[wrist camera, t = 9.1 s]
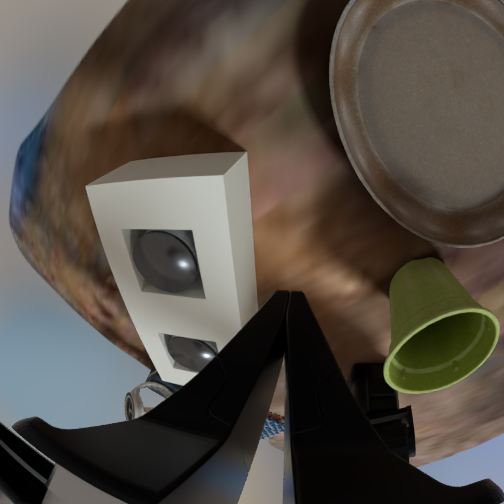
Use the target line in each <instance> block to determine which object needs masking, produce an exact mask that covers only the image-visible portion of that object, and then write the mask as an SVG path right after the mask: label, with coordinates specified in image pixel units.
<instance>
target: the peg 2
mask: <svg viewBox="0 0 504 504" xmlns="http://www.w3.org/2000/svg"><path fill="white" fill-rule="evenodd" d="M167 349H168V352H169V354H170V356H171V357H172V358H173V359H174V360H175V361H176V362H177V363H179V364H180V365H182V366H184V367H185V368H188V369H190V370H193V371H198V372H200V371H201V370H202V369H203V368H204V367H205V366H206V365H207V364H208V363H209V362H210V361H211V360H212V359H213V358H214V357H216V355H217V354H218V349H217V345H216V342H213V341H206V340H199V339H193V338H186V337H180V336H175V335H173V336H172V338H171V340H170V341H169V343H168V346H167Z"/></svg>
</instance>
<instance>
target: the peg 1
mask: <svg viewBox="0 0 504 504" xmlns="http://www.w3.org/2000/svg"><path fill="white" fill-rule="evenodd" d="M133 258H134V262H135V265H136V267H137V269H138V271H139V272H140V274H141V275H142V276H143V278H144V279H145V280H146V281H148V282H149V283H150V284H151V285H153V286H155V287H156V288H158V289H161V290H163V291H167V292H182V291H184V290H186V289H188V288H189V287H190V286H191V285H192V284H193V282H194V280H195V279H196V277H197V275H198V273H199V272H200V268H199V263H198V258H197V253H196V248H195V242H194V237H193V231H192V230H166V229H148V230H147V231H146V232H145V233H144V234H143V235H142V236H141V237H140V238H139V239H138V241H137V242H136V244H135V246H134V249H133Z"/></svg>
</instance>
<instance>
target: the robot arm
mask: <svg viewBox="0 0 504 504" xmlns="http://www.w3.org/2000/svg"><path fill="white" fill-rule="evenodd" d="M284 353H285V356H284ZM283 358H284V382H285V418H284V479H283V480H284V481H283V504H500V503H502V502H504V493H503V491H502V489H500V487H499V486H497V485H496V484H495V483H494V482H493V481H491V480H490V479H484V480H481V481H478V482H475V483H472V484H469V485H466V486H461V487H453V486H448V485H445V484H443V483H441V482H439V481H437V480H435V479H434V478H432V477H430V476H429V475H427V474H425V473H424V472H422V471H420V470H419V469H417V468H416V467H414V466H413V465H411V464H409V457H415V455H416V447H415V433H414V424H413V417H412V410H411V405H410V406H406V407H405V408H401V409H399V400H398V392H397V390H395V389H393V388H392V387H391V386H390V385H389V384H388V383H387V382H386V380H385V378H384V371H383V370H384V364H355V365H354V366H353V368H352V371H351V373H350V376H349V379H348V382H346V380H345V378H344V376H343V374H342V372H341V370H340V368H338V367H339V366H338V363H337V361H336V359H335V357H334V355H333V353H332V351H331V349H330V346H329V344H328V342H327V340H326V338H325V336H324V334H323V332H322V330H321V328H320V325H319V323H318V321H317V319H316V317H315V315H314V313H313V311H312V309H311V307H310V305H309V303H308V301H307V299H306V297H305V295H304V293H303V292H302V291H290V292H289V291H287V290H276V291H275V292H274V293H273V294H272V296H271V297H270V298H269V299H268V300H267V301H266V302H265V303H264V304H263V306H262V307H261V308H260V309H259V310H258V311H257V312H256V313H255V314H254V315H253V317H252V318H251V319H250V320H249V321H248V322H247V323H246V324H245V325H244V326H243V327H242V328H241V330H240V331H239V332H238V333H237V334H236V335H235V336H234V337H233V338H232V339H231V340H230V341H229V342H228V343H227V344H226V345H225V347H224V348H223V349H222V350H221V351H220V352H219V353H218V354H217V355H216V357H214V358H213V359H212V360H211V361H210V362H209V363H208V364H207V365H206V366H205V367H204V368H203V369H202V370H201V371H200V372H199V373H198V374H197V375H196V376H194V377H193V378H192V379H191V380H190V381H188V382H187V383H186V384H185V385H184V386H182V387H181V388H180V389H178V390H177V391H176V392H175V393H173V394H172V395H171V396H169V397H168V398H167V399H166V400H164V401H163V402H161V403H160V404H159V405H157V406H156V407H155V408H153V409H152V410H151V411H149V412H148V413H146V414H144V415H142V416H140V417H138V418H135V419H132V420H128V421H124V422H118V423H112V424H107V425H101V426H94V427H88V428H80V429H60V428H56V427H53V426H51V425H49V424H48V423H47V422H45V421H44V420H42V419H40V418H39V417H31V418H26V419H22V420H20V421H18V422H16V423H15V424H14V425H13V426H12V428H13V429H14V430H15V431H16V432H17V433H18V434H19V435H20V436H22V437H23V438H24V439H25V440H26V441H28V442H29V443H30V444H31V445H33V446H34V447H35V448H36V449H38V450H39V451H40V452H42V453H43V454H44V455H46V456H47V457H48V458H50V459H51V460H53V461H54V462H55V464H54V463H52V462H51V461H49V460H48V459H47V458H45V457H44V456H43V455H41V454H40V453H39V452H37V451H36V450H35V449H34V448H32V447H31V446H30V445H28V444H27V443H26V442H24V441H23V440H22V439H21V438H19V437H18V436H17V435H15V433H13V432H12V431H11V430H9V429H8V428H7V427H6V426H5V425H3V424H2V423H1V422H0V504H237V503H238V501H239V498H240V495H241V493H242V490H243V487H244V484H245V481H246V479H247V476H248V472H249V470H250V467H251V464H252V461H253V458H254V455H255V452H256V449H257V446H258V443H259V440H260V437H261V434H262V431H263V428H264V425H265V421H266V418H267V415H268V411H269V408H270V405H271V401H272V398H273V395H274V391H275V388H276V384H277V381H278V377H279V373H280V370H281V366H282V362H283Z"/></svg>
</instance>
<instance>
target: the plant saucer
mask: <svg viewBox="0 0 504 504" xmlns="http://www.w3.org/2000/svg"><path fill="white" fill-rule="evenodd" d="M329 86H330V95H331V104H332V109H333V113H334V118H335V122H336V125H337V129H338V132H339V135H340V138H341V141H342V143H343V146H344V148H345V151H346V153H347V155H348V158H349V160H350V162H351V164H352V166H353V168H354V170H355V171H356V173H357V175H358V177H359V179H360V180H361V182H362V183H363V185H364V186H365V187H366V189H367V190H368V192H369V193H370V194H371V196H372V197H373V198H374V199H375V201H376V202H377V203H378V204H379V205H380V206H381V207H382V208H383V210H385V211H386V212H387V213H388V214H389V215H390V216H391V217H392V218H393V219H394V220H395V221H396V222H398V223H399V224H400V225H402V226H403V227H405V228H406V229H408V230H409V231H411V232H412V233H414V234H416V235H418V236H420V237H422V238H424V239H426V240H428V241H431V242H433V243H436V244H440V245H443V246H449V247H458V248H467V247H468V248H469V247H479V246H483V245H488V244H491V243H494V242H497V241H499V240H501V239H503V238H504V1H503V0H350V1H349V3H348V4H347V6H346V7H345V9H344V11H343V12H342V14H341V17H340V19H339V21H338V24H337V27H336V30H335V33H334V36H333V40H332V46H331V52H330V63H329Z"/></svg>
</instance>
